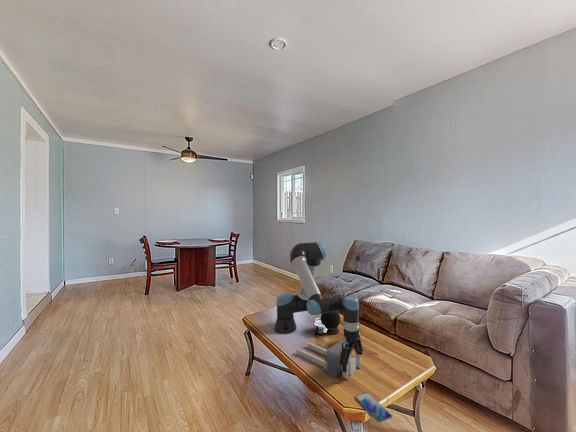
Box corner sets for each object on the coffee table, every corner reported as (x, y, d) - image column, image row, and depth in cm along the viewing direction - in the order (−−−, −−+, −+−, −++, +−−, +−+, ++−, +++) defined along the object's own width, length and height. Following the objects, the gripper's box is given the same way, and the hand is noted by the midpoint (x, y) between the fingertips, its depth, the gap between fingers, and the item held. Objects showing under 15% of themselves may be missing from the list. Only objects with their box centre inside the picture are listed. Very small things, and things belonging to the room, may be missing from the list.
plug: (324, 362, 141) (324, 349, 141) (330, 358, 144) (329, 346, 144) (350, 375, 129) (350, 361, 129) (356, 371, 133) (355, 357, 133)
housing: (322, 371, 133) (322, 351, 132) (342, 356, 146) (342, 337, 146) (335, 378, 127) (335, 357, 127) (355, 362, 141) (355, 342, 141)
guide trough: (296, 353, 150) (296, 349, 150) (308, 346, 158) (308, 342, 158) (328, 369, 135) (328, 364, 135) (340, 360, 143) (340, 355, 143)
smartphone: (367, 391, 117) (392, 416, 103) (367, 393, 117) (392, 418, 103) (354, 395, 114) (377, 421, 100) (354, 397, 114) (377, 423, 100)
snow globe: (316, 330, 179) (316, 308, 178) (329, 325, 187) (329, 304, 187) (331, 337, 168) (331, 314, 168) (344, 331, 177) (344, 309, 177)
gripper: (345, 339, 120) (345, 387, 121) (369, 323, 138) (370, 364, 138) (331, 334, 126) (332, 380, 126) (356, 319, 143) (357, 359, 143)
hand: (351, 372), depth 132 cm, fingers open, 11 cm apart
